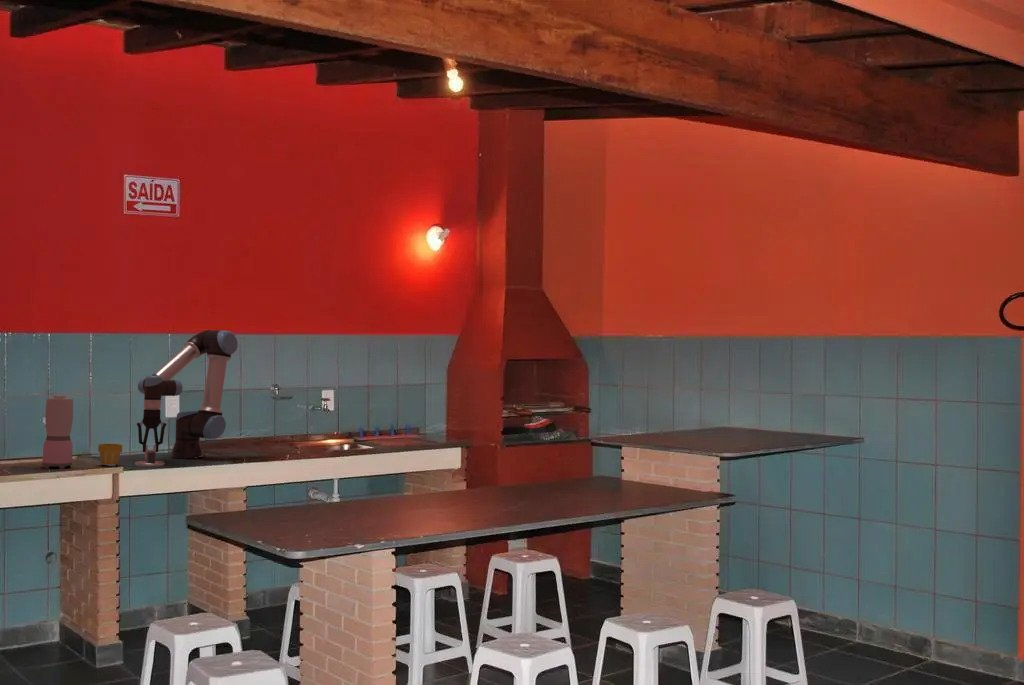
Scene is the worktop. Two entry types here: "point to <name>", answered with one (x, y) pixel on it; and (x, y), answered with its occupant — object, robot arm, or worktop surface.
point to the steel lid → (150, 460)
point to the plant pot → (109, 453)
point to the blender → (58, 432)
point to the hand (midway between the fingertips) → (150, 459)
